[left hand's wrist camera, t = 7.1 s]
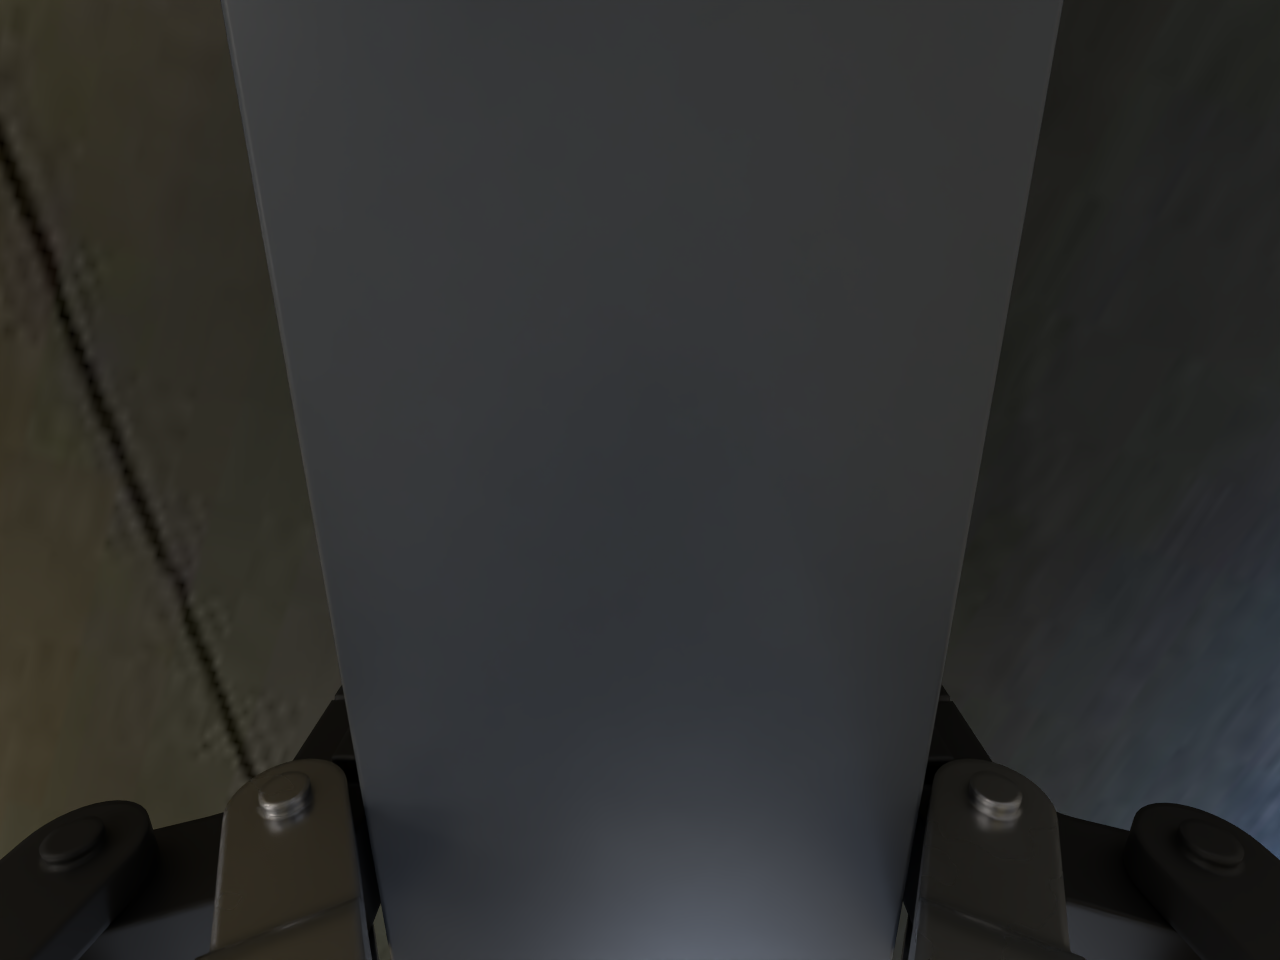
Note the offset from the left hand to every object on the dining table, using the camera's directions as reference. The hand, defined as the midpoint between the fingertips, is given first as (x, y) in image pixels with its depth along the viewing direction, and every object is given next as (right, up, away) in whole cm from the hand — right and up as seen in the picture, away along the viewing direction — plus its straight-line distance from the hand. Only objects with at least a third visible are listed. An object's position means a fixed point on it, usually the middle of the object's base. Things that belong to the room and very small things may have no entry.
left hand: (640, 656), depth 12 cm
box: (0, +11, +2) cm, 11 cm away
